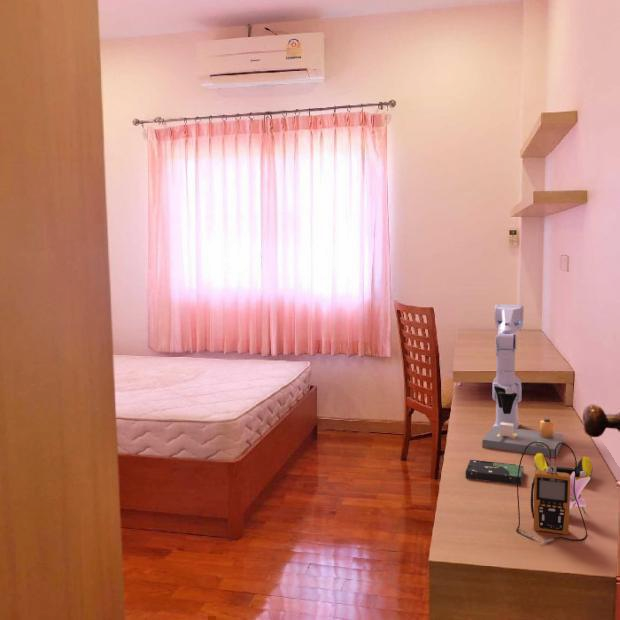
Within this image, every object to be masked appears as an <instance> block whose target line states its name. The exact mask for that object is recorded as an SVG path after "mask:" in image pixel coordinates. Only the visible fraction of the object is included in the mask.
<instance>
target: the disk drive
mask: <svg viewBox="0 0 620 620" xmlns="http://www.w3.org/2000/svg"><path fill="white" fill-rule="evenodd" d="M524 468H525V467H524V465H520V470H519V478H518V486H519V485H520V486H522V485H523V478H524ZM518 469H519V465H518V464H513V463H504V462H497V461H496V462H495V461H487V460H478V459H477V460H476V459H469V462H468V464H467V467H466V468H465V479H468V478H469V479H471V480H477V479H478V481H485V480H486V481H487V482H494V483H502V484H510V485H517V476H518ZM469 479H468V480H469Z"/></svg>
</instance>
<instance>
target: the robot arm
mask: <svg viewBox="0 0 620 620" xmlns="http://www.w3.org/2000/svg"><path fill="white" fill-rule="evenodd" d="M524 307H525V306H524V305H523V304H498V303H496V304H495V305H494V321H495V327H496V329H498V330H497V334H496V335H495V339H494V340H495V341H494V344H495V356H496V365H495V366H496V369H495V371H496V372H495V373H496V375H495V376H496V377H494V379H493V382H492V383H491V384H492V394H491V395H492V396H491V397H492V398H491V399H492V400H493V401H495V423H494V424H493V425H492V428H493V427H494V426H499V424H500V423H501V422H505V423H513V424H514V428H516V429H519V427H520V426H521V422H519V419H518V417H519V406H518V403H520V402H521V401H522V389H523V387H522V380H521V379H520V378H519V377H518V376H517V375H515V373H516V372H515V367H516V365H515V364H516V363H515V362H516V351H517V345H518V344H517V343H518V341H517V340H518V339H517V332H518V331H520V330H522V329H523V326H524Z"/></svg>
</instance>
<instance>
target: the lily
mask: <svg viewBox="0 0 620 620" xmlns="http://www.w3.org/2000/svg"><path fill="white" fill-rule="evenodd" d="M574 477H575V472H573V473H572V474H571V475H570V509H569V512H570V510H571V509H572V507H577V508H578V505H577V502H576V499H577V501H578V504H579V507H580V508H581V509H582V511H583V513H584V514H586V510H585V509H584V507H585V508H586V507H587V503H586V500H585V499H584V498H583V496H582V494H581V493H582V492H583V491H584V488H585V487H586V486H587V484H588V483H589V481H590V480H591V477H585V478H581V479H578V480H577V481H576V478H575V495H576V499H575V496H574V490H573V488H574Z"/></svg>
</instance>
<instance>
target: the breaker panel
mask: <svg viewBox="0 0 620 620" xmlns="http://www.w3.org/2000/svg"><path fill="white" fill-rule="evenodd" d="M532 442H542V443H544V444H546V445H547V446H548V447H549V449H550V451H551V458H555V448H556V446H557V444H559V443H564V434H563V433H555V432H553V438H543V437H540V430H531V429H522V428H517V429H516V428H514V435H513V436H512V437H509V436H502V435H499V426H494V427H493V426H492V428H491V429H490V430H489V432H488V433H487V434H486V435H485V436H484V437H483V438H482V444H481V445H482V448H484V447H487V449H492V450H500V451H506V450H507V452H513V451H514V453H515V452H516V453H520V452H521V453H522V454H523V452H524V450H525V448H526V447H527V446H528V445H529V444H530V443H532ZM542 443H532V444H531V445H529V446H528V448H527V449H526V451H525V453H524V454H527V453H528V454H527V455H534V454H535V455H534V456H536V454H537V453H542V454H543V455H544V457H550V451H549V449H548V448H547V446H545V445H544V444H542ZM562 445H563V444H559V445H558V446H557V449H556V457H557V455H558V453H559V451H560V449H561V447H562Z"/></svg>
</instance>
